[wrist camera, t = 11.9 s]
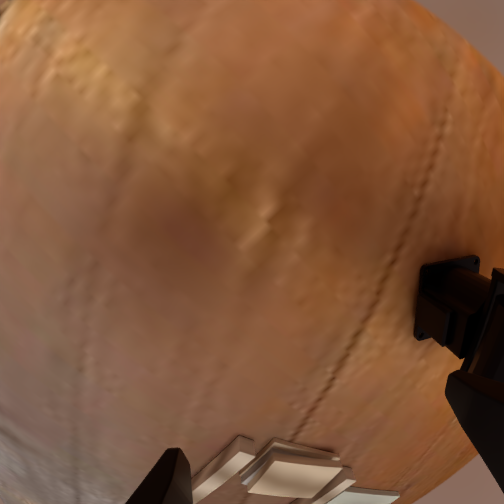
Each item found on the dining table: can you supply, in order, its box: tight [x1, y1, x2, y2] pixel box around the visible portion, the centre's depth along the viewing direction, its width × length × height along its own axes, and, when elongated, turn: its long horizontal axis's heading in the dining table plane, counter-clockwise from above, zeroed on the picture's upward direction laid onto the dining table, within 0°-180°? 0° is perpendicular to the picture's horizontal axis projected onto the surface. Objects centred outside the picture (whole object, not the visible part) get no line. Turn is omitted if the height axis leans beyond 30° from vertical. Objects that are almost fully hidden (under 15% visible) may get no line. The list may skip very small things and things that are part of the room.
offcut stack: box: [239, 438, 343, 498], centre depth 24 cm, size 7×8×3 cm
